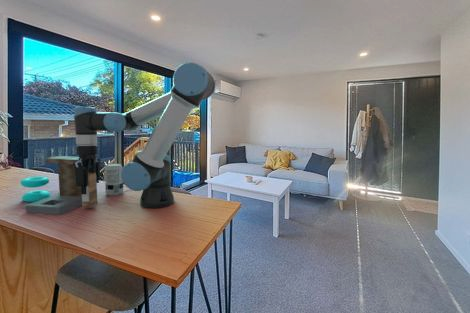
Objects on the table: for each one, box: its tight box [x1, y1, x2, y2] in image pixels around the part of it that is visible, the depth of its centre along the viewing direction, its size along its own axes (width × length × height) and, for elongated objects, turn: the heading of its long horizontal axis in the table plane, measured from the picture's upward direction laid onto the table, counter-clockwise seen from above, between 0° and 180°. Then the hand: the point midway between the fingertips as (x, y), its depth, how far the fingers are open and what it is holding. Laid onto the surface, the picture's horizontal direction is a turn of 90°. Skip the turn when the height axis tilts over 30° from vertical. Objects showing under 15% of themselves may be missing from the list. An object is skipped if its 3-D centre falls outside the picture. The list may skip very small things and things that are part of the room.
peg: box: [81, 172, 99, 208], centre depth 101 cm, size 4×4×14 cm
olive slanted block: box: [45, 155, 82, 197], centre depth 110 cm, size 16×8×20 cm, turn 86°
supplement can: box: [104, 163, 124, 196], centre depth 123 cm, size 8×8×15 cm
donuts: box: [20, 176, 51, 203], centre depth 110 cm, size 10×10×10 cm
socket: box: [25, 194, 82, 216], centre depth 101 cm, size 14×14×3 cm
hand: (89, 199), depth 102 cm, fingers closed on peg, 4 cm apart
